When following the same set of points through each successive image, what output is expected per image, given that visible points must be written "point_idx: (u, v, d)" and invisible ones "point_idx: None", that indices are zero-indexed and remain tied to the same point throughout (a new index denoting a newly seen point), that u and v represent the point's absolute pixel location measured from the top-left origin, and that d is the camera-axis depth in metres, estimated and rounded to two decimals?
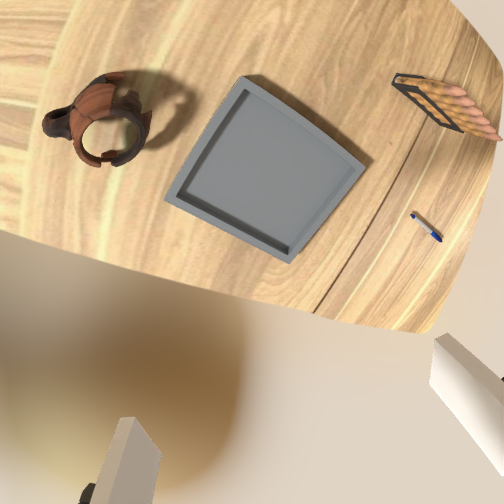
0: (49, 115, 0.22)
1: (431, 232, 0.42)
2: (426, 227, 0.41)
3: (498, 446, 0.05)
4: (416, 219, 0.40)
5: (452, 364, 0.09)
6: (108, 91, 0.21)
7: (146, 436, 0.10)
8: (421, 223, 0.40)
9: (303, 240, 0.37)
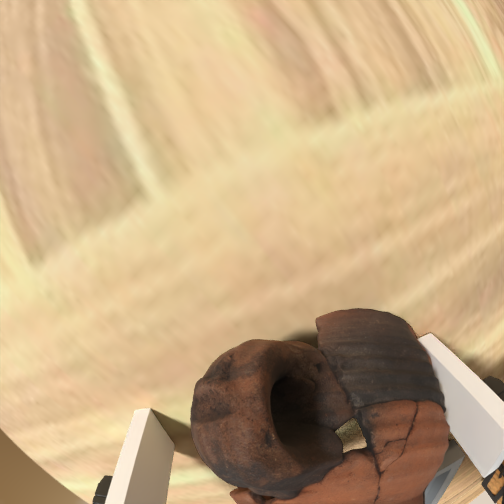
0: (269, 393, 0.06)
1: None
2: None
3: (479, 447, 0.06)
4: None
5: (434, 364, 0.09)
6: (443, 457, 0.06)
7: (161, 427, 0.11)
8: None
9: None
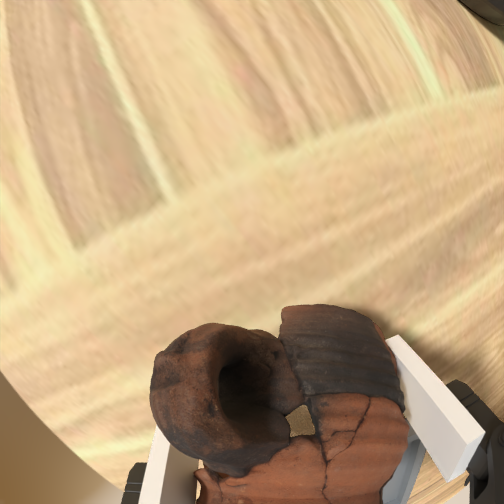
0: (217, 368, 0.06)
1: None
2: None
3: (441, 451, 0.06)
4: None
5: (398, 365, 0.10)
6: (400, 456, 0.07)
7: None
8: None
9: None
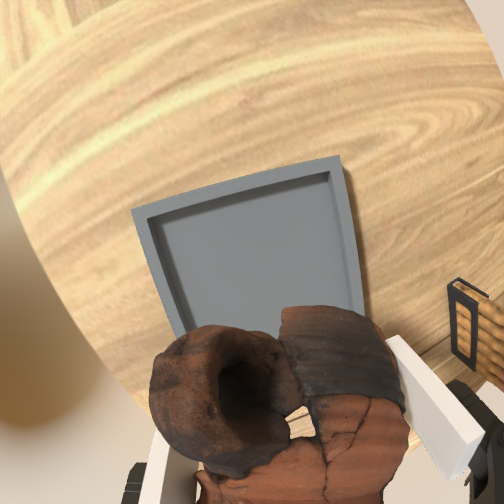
0: (216, 370, 0.06)
1: None
2: None
3: (441, 451, 0.06)
4: None
5: (398, 365, 0.10)
6: (401, 457, 0.07)
7: None
8: None
9: None
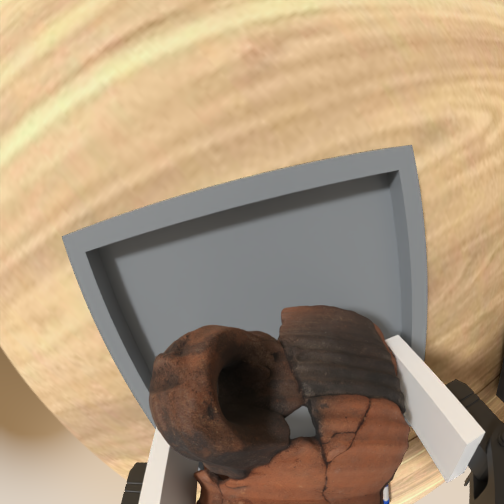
0: (216, 370, 0.06)
1: (386, 500, 0.22)
2: (386, 496, 0.22)
3: (441, 451, 0.06)
4: (385, 488, 0.21)
5: (398, 365, 0.10)
6: (401, 457, 0.07)
7: None
8: (386, 492, 0.21)
9: None
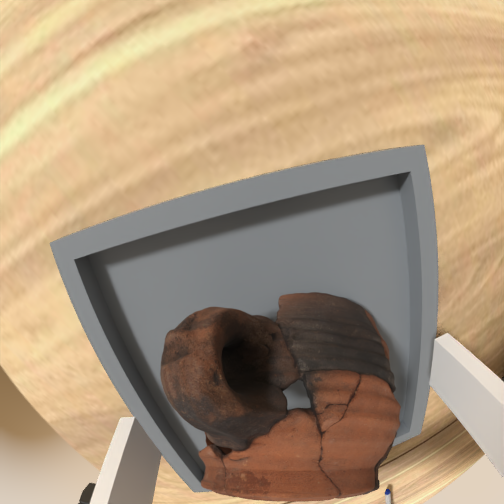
0: (221, 343, 0.07)
1: None
2: (389, 502, 0.21)
3: (498, 446, 0.05)
4: (388, 495, 0.20)
5: (452, 364, 0.09)
6: (393, 434, 0.08)
7: (146, 436, 0.10)
8: (388, 499, 0.20)
9: None
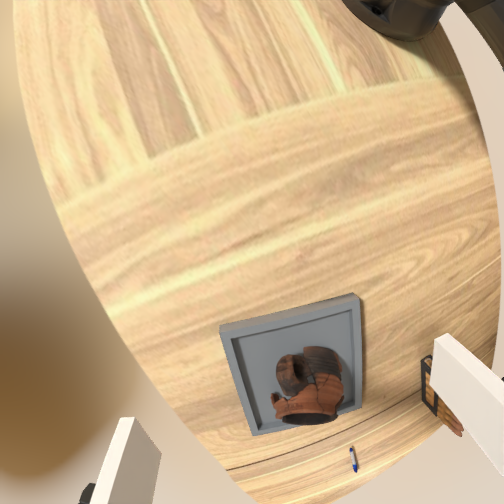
0: (293, 365, 0.29)
1: (354, 464, 0.42)
2: (353, 460, 0.42)
3: (498, 446, 0.05)
4: (351, 453, 0.41)
5: (452, 364, 0.09)
6: (340, 394, 0.29)
7: (146, 436, 0.10)
8: (352, 456, 0.41)
9: (278, 428, 0.35)
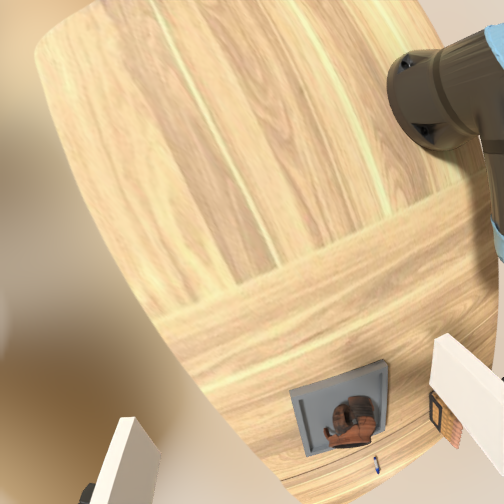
0: (344, 415, 0.38)
1: (377, 468, 0.51)
2: (376, 465, 0.51)
3: (498, 446, 0.05)
4: (375, 460, 0.50)
5: (452, 364, 0.09)
6: (373, 428, 0.38)
7: (146, 436, 0.10)
8: (376, 463, 0.50)
9: (325, 450, 0.45)
